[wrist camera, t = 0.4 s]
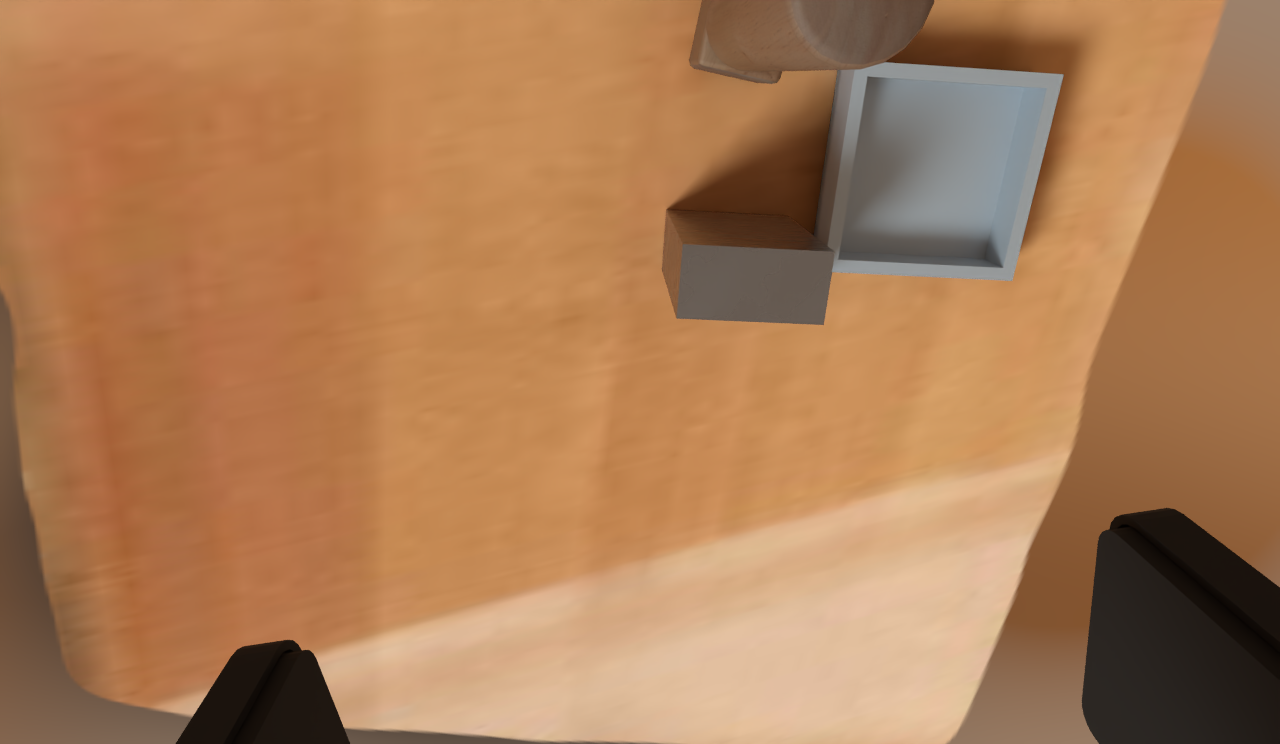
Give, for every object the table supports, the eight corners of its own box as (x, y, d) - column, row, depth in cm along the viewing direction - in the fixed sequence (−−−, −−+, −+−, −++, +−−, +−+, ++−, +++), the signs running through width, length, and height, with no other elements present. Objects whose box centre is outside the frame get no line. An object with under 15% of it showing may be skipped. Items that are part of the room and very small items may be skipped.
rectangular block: (666, 209, 36) (682, 244, 29) (788, 215, 37) (835, 251, 29) (661, 270, 37) (676, 318, 30) (780, 275, 38) (823, 324, 30)
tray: (839, 61, 34) (856, 60, 32) (1032, 74, 35) (1063, 74, 32) (810, 259, 37) (823, 271, 35) (987, 268, 38) (1012, 280, 36)
